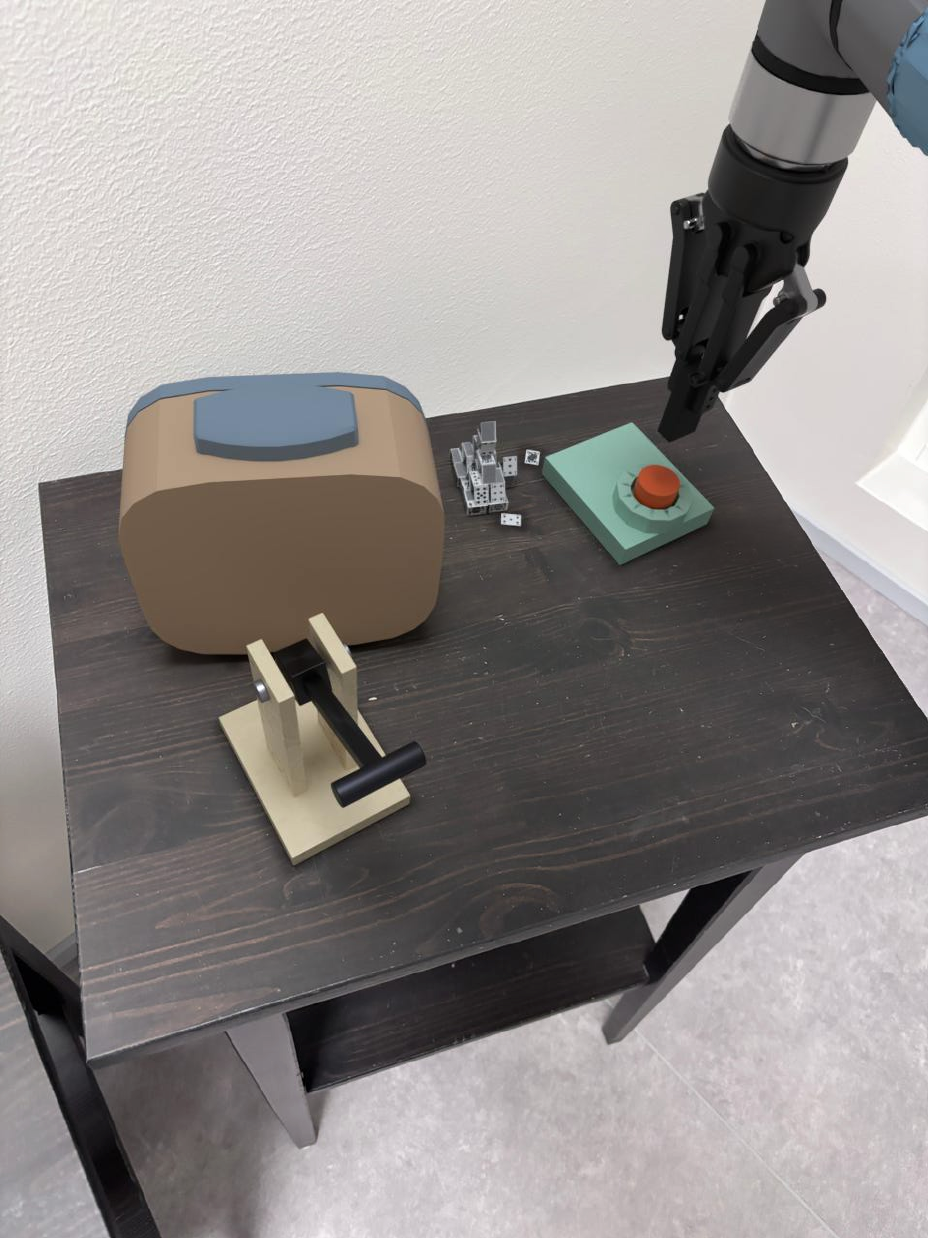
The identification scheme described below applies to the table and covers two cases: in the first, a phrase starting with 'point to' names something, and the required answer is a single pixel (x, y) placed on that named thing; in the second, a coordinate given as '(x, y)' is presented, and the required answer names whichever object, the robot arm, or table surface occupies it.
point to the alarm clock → (280, 510)
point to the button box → (622, 493)
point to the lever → (344, 726)
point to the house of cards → (486, 474)
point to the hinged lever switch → (304, 752)
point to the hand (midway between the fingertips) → (676, 431)
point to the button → (656, 487)
